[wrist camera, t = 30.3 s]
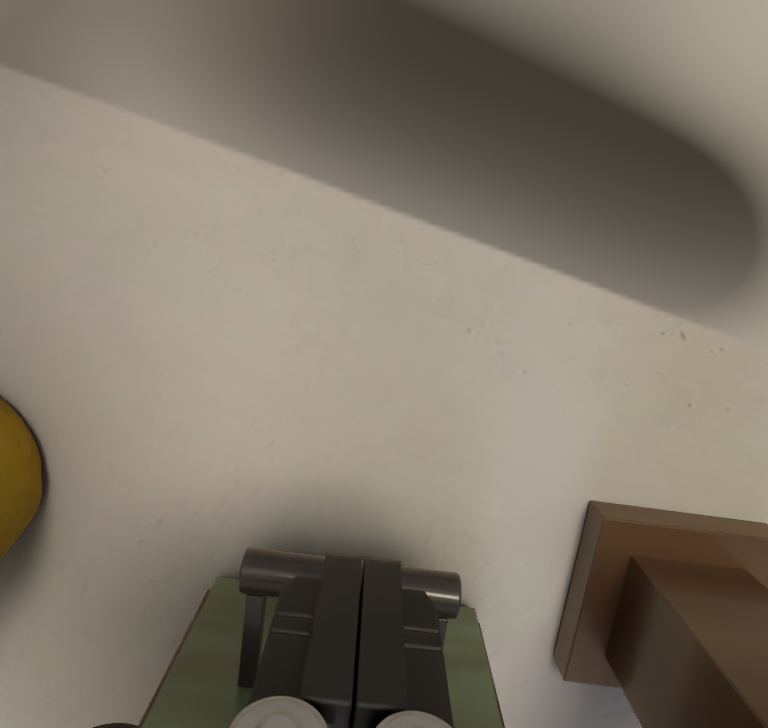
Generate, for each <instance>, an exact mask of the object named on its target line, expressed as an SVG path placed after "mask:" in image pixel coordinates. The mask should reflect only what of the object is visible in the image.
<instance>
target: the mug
mask: <svg viewBox="0 0 768 728" xmlns="http://www.w3.org/2000/svg"><path fill="white" fill-rule="evenodd" d="M41 496H42V479H41V458H40V454H39V451H38V448H37V445H36V443H35V441H34V438H33V436H32V434H31V432H30V431H29V429H28V428H27V426H26V424H25V423H24V421H23V420H22V418H21V417H20V416H19V415H18V414H17V412H16V411H15V410H14V409H13V408H12V407H11V406H10V405H9V404H8V403H7V402H6V401H5V400H3V399H2V398H1V397H0V559H1V558H2V557H3V556H4V555H5V554H6V552H7V551H8V550H9V549H10V548H11V546H12V545H13V543H14V542H15V541H16V540H17V538H18V537H19V536H20V535H21V533H22V532H23V531H24V529H25V528H26V527H27V525H28V524H29V523H30V521H31V520H32V519H33V517H34V515H35V513H36V511H37V509H38V507H39V504H40V500H41Z"/></svg>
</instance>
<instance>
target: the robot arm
mask: <svg viewBox="0 0 768 728" xmlns="http://www.w3.org/2000/svg"><path fill="white" fill-rule="evenodd" d="M361 566H362V557H361V556H352V555H344V554H336V553H328V552H327V553H326V558H325V564H324V569H323V574H322V579H321V578H312V577H304V576H295V577H294V578H293V579H292V580H291V581H290V582H289V583H288V584H287V585H286V586H285V587H284V588H283V589H282V590H281V592H280V595H279V598H278V602H277V605H276V609H275V613H274V616H273V619H272V622H271V626H270V630H269V633H268V636H267V640H266V643H265V646H264V650H263V653H262V657H261V660H260V664H259V667H258V670H257V674H256V677H255V681H254V684H253V687H252V691H251V694H250V698H249V701H248V703H247V706H246V708H244V709H243V710H242V711H241V712H240V713H239V714H238V715H237V716H236V717H235V719H234V720H233V721H232V723H231V725H230V727H229V728H454V724H453V718H452V711H451V703H450V696H449V689H448V682H447V675H446V667H445V660H444V653H443V646H442V639H441V635H440V624H439V617H438V610H437V608H436V607H435V605H434V604H433V602H432V601H431V600H430V598H429V597H428V595H427V594H426V592H425V591H422V590H414V589H405V588H402V575H401V562H400V561H395V560H387V559H378V558H370V557H365V559H364V565H363V572H362V579H361ZM360 580H361V586H360ZM93 728H141V727H139V726H136V725H133V724H127V723H111V724H104V725H100V726H96V727H93Z"/></svg>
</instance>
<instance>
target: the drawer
mask: <svg viewBox="0 0 768 728" xmlns="http://www.w3.org/2000/svg"><path fill="white" fill-rule="evenodd" d="M325 558H326V557H325V556H318V555H310V554H302V553H294V552H286V551H278V550H270V549H262V548H254V547H249V548H247V550H246V552H245V554H244V557H243V560H242V564H241V568H240V574H239V579H235V578H227V577H217V579H216V581H215V583H214V585H213V587H212V589H211V591H210V593H209V595H208V597H207V599H206V600H205V602H204V604H203V606H202V608H201V610H200V612H199V614H198V616H197V618H196V620H195V622H194V624H193V626H192V628H191V630H190V632H189V634H188V636H187V638H186V640H185V642H184V644H183V646H182V648H181V650H180V652H179V654H178V656H177V658H176V660H175V662H174V664H173V666H172V668H171V670H170V672H169V674H168V676H167V678H166V680H165V682H164V684H163V686H162V688H161V690H160V692H159V694H158V696H157V698H156V700H155V702H154V704H153V706H152V708H151V710H150V712H149V714H148V716H147V718H146V720H145V721H144V723H143V725H142V727H141V728H229V727H230V725H231V723H232V721H233V720H234V719H235V717H236V716H237V715H238V714H239V713H240V712H241V711H242V710H243V709H244V708H246V706H247V703H248V701H249V698H250V694H251V691H252V687H253V684H254V681H255V677H256V674H257V670H258V667H259V664H260V660H261V657H262V653H263V650H264V646H265V643H266V640H267V636H268V633H269V630H270V626H271V622H272V619H273V616H274V613H275V609H276V605H277V602H278V598H279V595H280V592H281V590H282V589H283V588H284V587H285V586H286V585H287V584H288V583H289V582H290V581H291V580H292V579H293V578H294V577H295V576H304V577H312V578H321V579H322V574H323V569H324V564H325ZM363 565H364V561H362V566H361V579H362V572H363ZM401 575H402V588H405V589H414V590H422V591H425V592H426V594H427V595H428V597H429V598H430V600H431V601H432V602H433V604H434V605H435V607H436V608H437V610H438V617H439V624H440V635H441V639H442V646H443V653H444V660H445V667H446V675H447V682H448V689H449V696H450V703H451V711H452V718H453V724H454V728H503V724H502V720H501V716H500V712H499V708H498V703H497V699H496V695H495V691H494V687H493V683H492V678H491V674H490V670H489V666H488V662H487V658H486V654H485V649H484V645H483V641H482V637H481V633H480V629H479V624H478V620H477V616H476V612H475V609H474V608H468V607H460V604H461V580H460V576H459V574H457V573H453V572H445V571H437V570H429V569H421V568H413V567H405V566H401ZM360 586H361V580H360Z"/></svg>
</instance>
